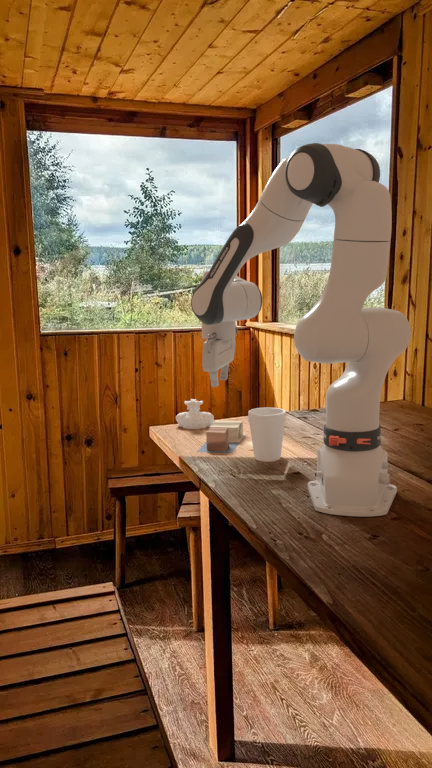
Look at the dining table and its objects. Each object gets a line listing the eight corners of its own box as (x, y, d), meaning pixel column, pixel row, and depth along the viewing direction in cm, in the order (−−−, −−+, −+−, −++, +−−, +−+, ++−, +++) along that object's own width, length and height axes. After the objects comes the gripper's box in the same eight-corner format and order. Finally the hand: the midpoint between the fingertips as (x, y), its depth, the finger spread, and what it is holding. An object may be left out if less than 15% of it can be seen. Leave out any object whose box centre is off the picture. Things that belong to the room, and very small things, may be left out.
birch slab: (237, 441, 168) (237, 427, 167) (209, 440, 170) (209, 426, 169) (243, 434, 176) (242, 421, 175) (216, 433, 177) (216, 420, 177)
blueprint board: (232, 457, 157) (232, 453, 157) (196, 455, 159) (196, 451, 159) (246, 437, 176) (246, 433, 176) (214, 436, 178) (214, 432, 178)
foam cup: (259, 454, 159) (258, 406, 156) (292, 458, 154) (291, 409, 152) (242, 464, 151) (241, 413, 148) (276, 469, 146) (275, 416, 144)
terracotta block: (225, 450, 159) (224, 432, 158) (206, 450, 160) (206, 432, 159) (229, 445, 164) (228, 428, 163) (211, 445, 165) (210, 427, 164)
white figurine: (176, 437, 187) (171, 414, 179) (178, 418, 192) (173, 395, 184) (214, 437, 186) (211, 414, 178) (215, 418, 191) (212, 394, 183)
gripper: (220, 335, 146) (221, 391, 149) (238, 327, 166) (239, 376, 168) (195, 335, 148) (196, 390, 150) (216, 327, 167) (217, 376, 170)
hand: (219, 383), depth 159 cm, fingers open, 8 cm apart
